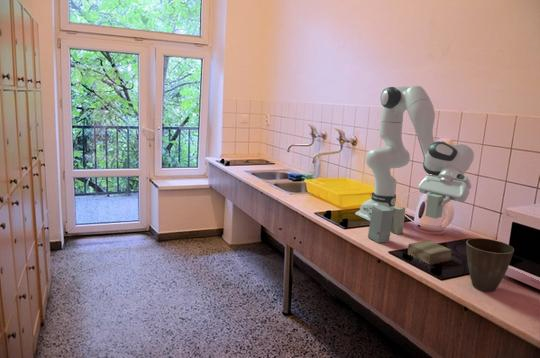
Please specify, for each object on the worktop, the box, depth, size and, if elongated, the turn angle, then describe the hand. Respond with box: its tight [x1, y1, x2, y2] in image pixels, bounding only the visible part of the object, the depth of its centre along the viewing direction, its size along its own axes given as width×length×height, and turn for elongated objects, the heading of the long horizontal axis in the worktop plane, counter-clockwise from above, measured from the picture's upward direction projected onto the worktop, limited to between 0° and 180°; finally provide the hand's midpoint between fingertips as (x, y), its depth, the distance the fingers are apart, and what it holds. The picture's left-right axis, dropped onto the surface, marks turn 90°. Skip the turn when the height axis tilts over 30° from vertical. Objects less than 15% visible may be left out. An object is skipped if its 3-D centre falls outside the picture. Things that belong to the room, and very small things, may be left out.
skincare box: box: [367, 205, 394, 244], centre depth 191 cm, size 8×7×16 cm
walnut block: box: [407, 239, 453, 266], centre depth 173 cm, size 12×12×5 cm
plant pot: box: [465, 237, 515, 293], centre depth 147 cm, size 15×15×16 cm
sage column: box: [425, 194, 445, 219], centre depth 169 cm, size 4×4×9 cm
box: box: [390, 205, 406, 235], centre depth 202 cm, size 5×4×13 cm
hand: (434, 204), depth 169 cm, fingers closed on sage column, 4 cm apart
